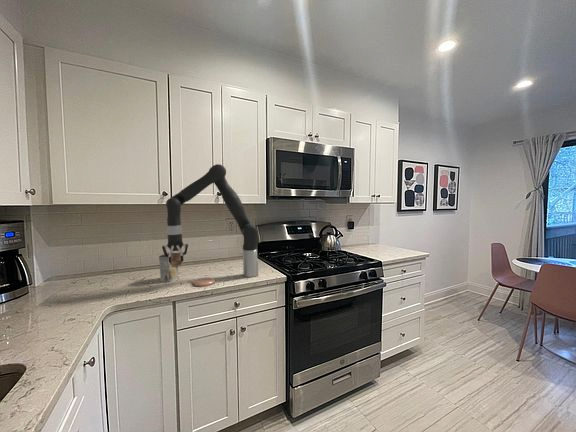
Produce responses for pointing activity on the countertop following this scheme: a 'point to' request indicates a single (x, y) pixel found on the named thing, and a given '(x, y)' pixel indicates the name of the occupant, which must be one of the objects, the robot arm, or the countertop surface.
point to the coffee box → (167, 269)
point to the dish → (204, 282)
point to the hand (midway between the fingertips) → (176, 262)
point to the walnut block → (175, 259)
